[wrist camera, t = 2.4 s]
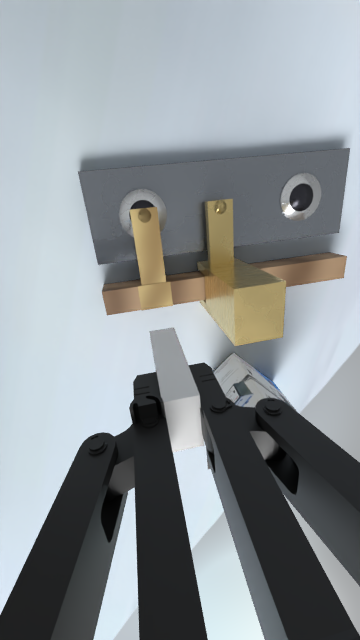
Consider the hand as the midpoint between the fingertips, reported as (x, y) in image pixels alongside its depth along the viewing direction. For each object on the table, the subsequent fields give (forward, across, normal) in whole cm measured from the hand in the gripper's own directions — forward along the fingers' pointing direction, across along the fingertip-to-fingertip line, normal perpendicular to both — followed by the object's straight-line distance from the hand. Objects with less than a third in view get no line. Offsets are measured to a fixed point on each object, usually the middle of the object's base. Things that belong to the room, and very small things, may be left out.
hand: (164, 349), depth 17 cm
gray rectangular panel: (+14, +8, +7) cm, 18 cm away
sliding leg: (+14, +8, +3) cm, 16 cm away
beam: (+14, +9, +3) cm, 17 cm away
